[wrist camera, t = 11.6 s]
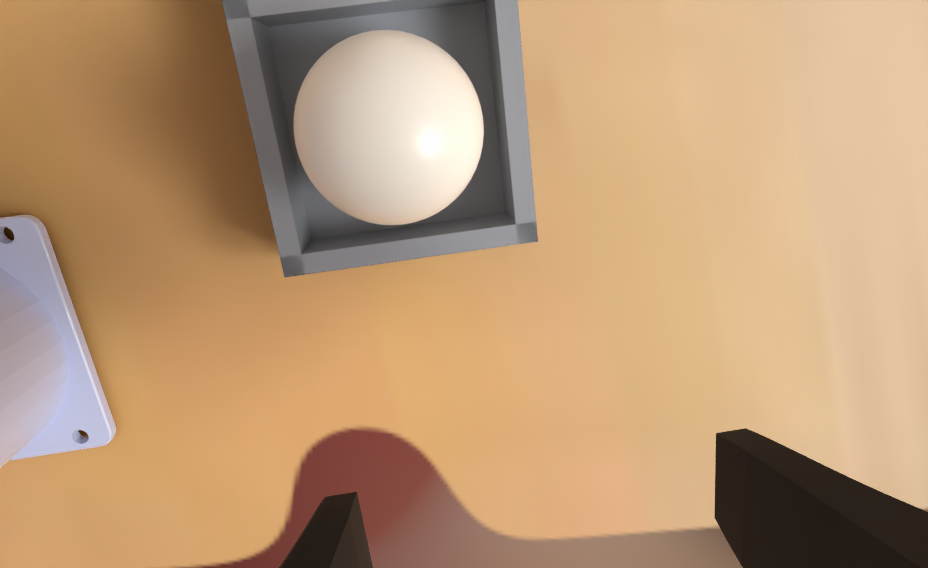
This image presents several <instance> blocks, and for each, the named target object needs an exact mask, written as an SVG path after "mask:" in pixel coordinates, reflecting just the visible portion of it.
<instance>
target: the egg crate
mask: <svg viewBox="0 0 928 568" xmlns="http://www.w3.org/2000/svg"><path fill="white" fill-rule="evenodd" d="M222 4H223V8H224V13H225V17H226V22H227V26H228V30H229V35H230V39H231V44H232V48H233V52H234V57H235V61H236V66H237V70H238V74H239V79H240V83H241V88H242V92H243V96H244V101H245V105H246V110H247V114H248V118H249V123H250V127H251V132H252V136H253V140H254V145H255V149H256V154H257V158H258V162H259V167H260V171H261V176H262V180H263V184H264V189H265V193H266V198H267V202H268V207H269V211H270V215H271V220H272V224H273V229H274V233H275V237H276V242H277V246H278V251H279V255H280V259H281V264H282V268H283V273H284V277H290V276H297V275H304V274H311V273H319V272H326V271H333V270H340V269H347V268H354V267H361V266H368V265H375V264H382V263H389V262H396V261H403V260H410V259H417V258H425V257H432V256H439V255H446V254H453V253H460V252H467V251H474V250H481V249H488V248H495V247H502V246H509V245H516V244H523V243H531V242H538V239H537V227H536V215H535V203H534V191H533V179H532V167H531V155H530V143H529V131H528V119H527V107H526V95H525V82H524V70H523V58H522V46H521V34H520V22H519V10H518V0H222Z"/></svg>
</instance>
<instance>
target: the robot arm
mask: <svg viewBox="0 0 928 568" xmlns="http://www.w3.org/2000/svg"><path fill="white" fill-rule="evenodd" d="M5 227H7V228H9V229H10V230H11V231H12V232H13V234H14V240H13V241H11V240H10V239H8V238H7V237H6V236H5V234H4V228H5ZM78 430H83V431H85V432H86V433H87V434H88V436H89V437H84V436H82V435H81V434H80V433H79V431H78ZM115 433H116V426H115V424H114V421H113V418H112V415H111V412H110V409H109V406H108V404H107V401H106V398H105V395H104V392H103V389H102V387H101V384H100V381H99V378H98V375H97V372H96V369H95V367H94V364H93V361H92V358H91V355H90V352H89V350H88V347H87V344H86V341H85V338H84V335H83V333H82V330H81V327H80V324H79V321H78V318H77V315H76V313H75V310H74V307H73V304H72V301H71V298H70V296H69V293H68V290H67V287H66V284H65V281H64V278H63V276H62V273H61V270H60V267H59V264H58V261H57V259H56V256H55V253H54V250H53V247H52V244H51V242H50V239H49V236H48V233H47V230H46V228H45V226H44V224H43V223H42V222H41V221H40V220H39V219H38V218H36V217H34V216H32V215H17V216H9V217H1V218H0V468H1V467H2V466H3V465H4V464H5V463H7V462H8V461H10V460H16V459H23V458H29V457H36V456H42V455H49V454H55V453H62V452H68V451H75V450H81V449H87V448H94V447H100V446H104V445H106V444H107V443H109V442H110V441H111V440H112V438H113V437H114V436H115ZM715 519H716V521H717V523H718V525H719V526H720V528H721V530H722V532H723V534H724V536H725V537H726V539H727V541H728V543H729V545H730V546H731V548H732V550H733V552H734V553H735V555H736V557H737V559H738V560H739V562H740V564H741V565H742V567H743V568H928V512H926V511H924V510H921V509H919V508H917V507H914V506H912V505H910V504H907V503H905V502H903V501H900V500H898V499H896V498H893V497H891V496H889V495H886V494H884V493H882V492H880V491H877V490H875V489H873V488H871V487H869V486H866V485H864V484H862V483H860V482H858V481H856V480H853V479H851V478H849V477H847V476H845V475H843V474H841V473H839V472H837V471H834V470H832V469H830V468H828V467H826V466H824V465H822V464H820V463H818V462H816V461H814V460H812V459H810V458H808V457H806V456H804V455H802V454H800V453H798V452H795V451H793V450H791V449H789V448H787V447H785V446H783V445H781V444H779V443H777V442H775V441H773V440H771V439H769V438H766V437H764V436H762V435H760V434H758V433H755V432H753V431H750V430H748V429H740V430H734V431H727V432H721V433H716V473H715ZM279 568H373V566H372V562H371V557H370V552H369V547H368V543H367V538H366V533H365V529H364V524H363V519H362V514H361V510H360V505H359V500H358V495H357V492H353V493H347V494H341V495H334V496H329V497H325V498H324V499H323V501H322V502H321V503H320V505H319V506H318V508H317V510H316V512H315V513H314V514H313V516H312V518H311V519H310V521H309V523H308V524H307V526H306V528H305V529H304V531H303V532H302V534H301V535H300V537H299V539H298V540H297V542H296V543H295V545H294V547H293V548H292V550H291V551H290V553H289V554H288V556H287V557H286V559H285V560H284V562H283V563H282V564H281V566H280V567H279Z"/></svg>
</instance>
